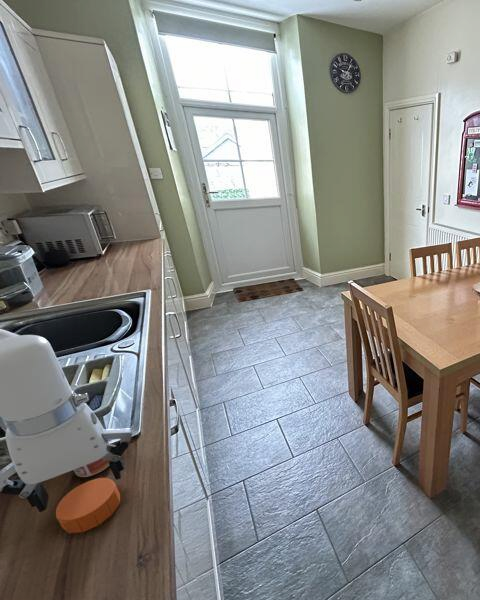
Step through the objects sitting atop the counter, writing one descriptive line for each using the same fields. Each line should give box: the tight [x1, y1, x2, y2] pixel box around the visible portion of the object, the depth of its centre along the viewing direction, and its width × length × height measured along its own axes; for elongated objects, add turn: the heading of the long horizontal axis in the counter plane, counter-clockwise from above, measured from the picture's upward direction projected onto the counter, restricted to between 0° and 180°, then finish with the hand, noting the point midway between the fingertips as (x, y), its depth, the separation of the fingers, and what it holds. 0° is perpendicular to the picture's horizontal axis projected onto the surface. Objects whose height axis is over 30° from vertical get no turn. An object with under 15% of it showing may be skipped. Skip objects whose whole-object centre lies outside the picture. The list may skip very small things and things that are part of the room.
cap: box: [55, 477, 121, 534], centre depth 59 cm, size 8×8×4 cm
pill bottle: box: [73, 441, 110, 478], centre depth 66 cm, size 6×6×11 cm
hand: (83, 488), depth 57 cm, fingers open, 9 cm apart
